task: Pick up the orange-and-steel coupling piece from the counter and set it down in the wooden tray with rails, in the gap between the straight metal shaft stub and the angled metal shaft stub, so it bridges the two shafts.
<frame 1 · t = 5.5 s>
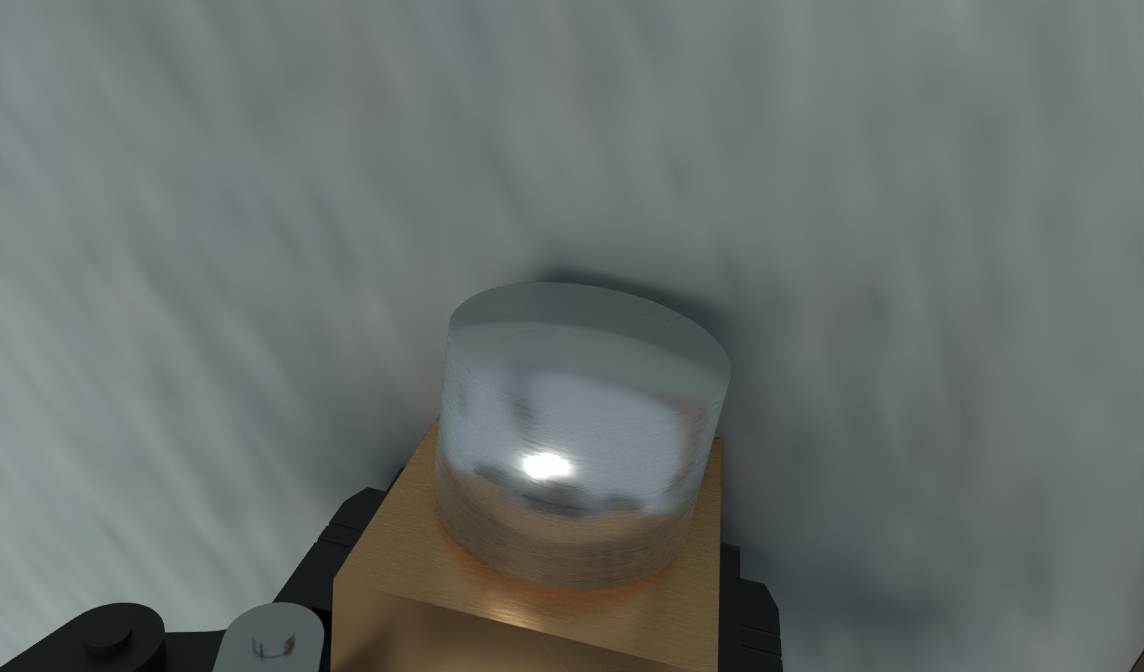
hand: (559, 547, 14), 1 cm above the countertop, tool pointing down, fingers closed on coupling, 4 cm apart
coupling: (566, 526, 15), on the countertop, touching gripper
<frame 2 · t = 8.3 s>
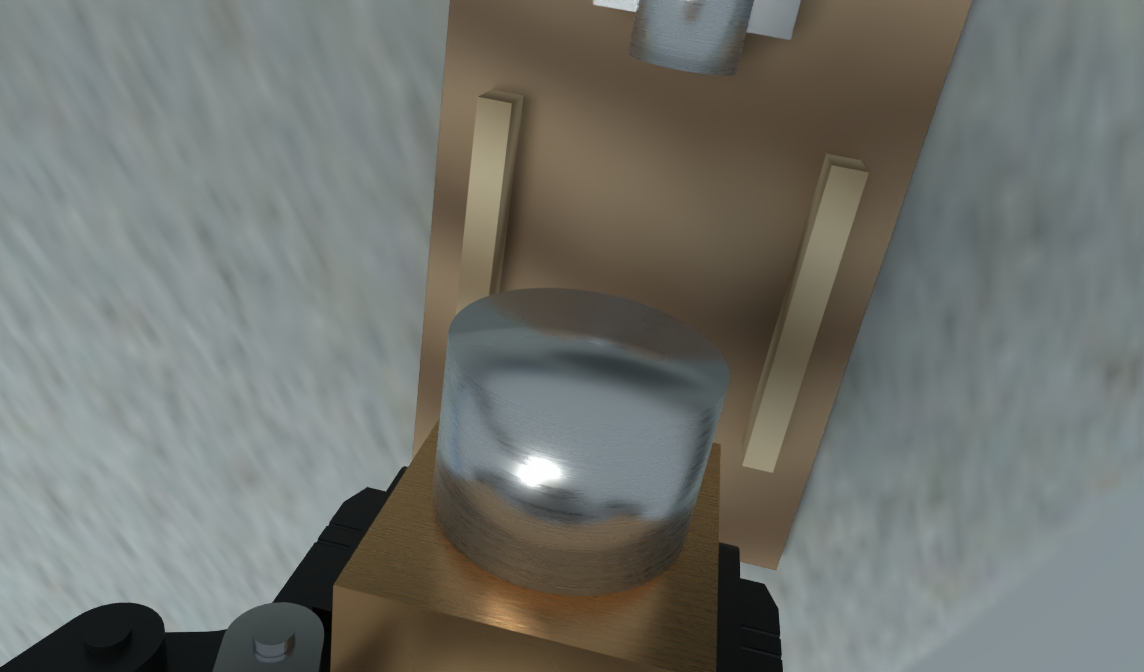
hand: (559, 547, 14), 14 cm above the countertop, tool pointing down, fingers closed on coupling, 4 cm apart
coupling: (566, 530, 15), point 14 cm above the countertop, touching gripper
wooden tray with rails: (643, 269, 27), on the countertop
when the fingers open (3 cm above the countertop, at t = 11.0 s): coupling drops 2 cm, resting on wooden tray with rails.
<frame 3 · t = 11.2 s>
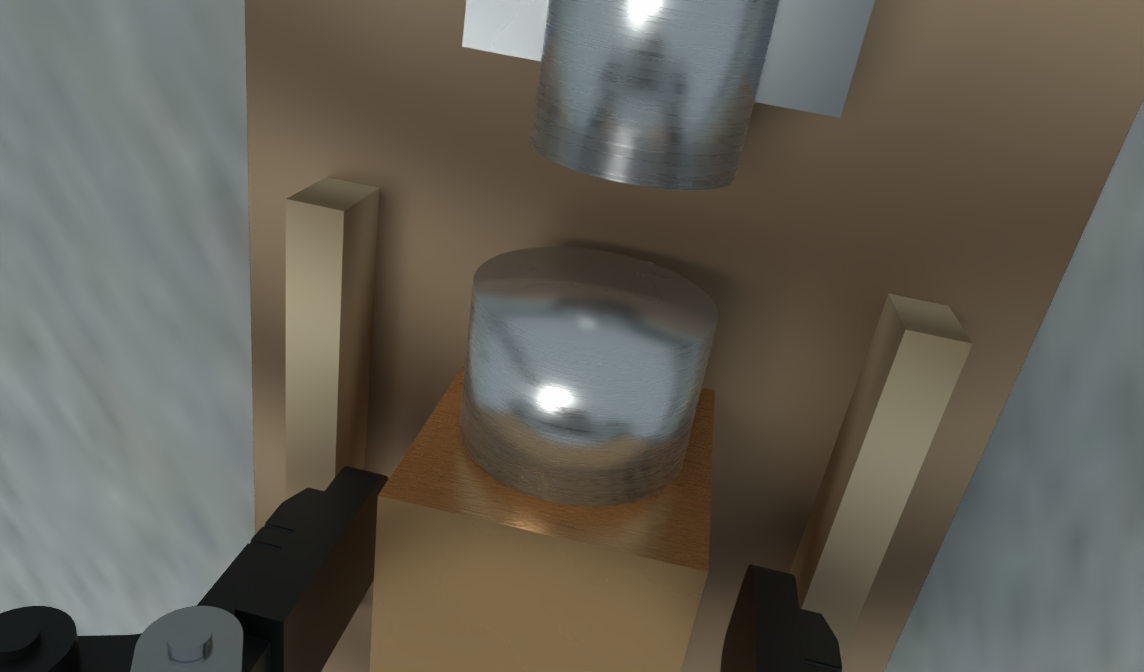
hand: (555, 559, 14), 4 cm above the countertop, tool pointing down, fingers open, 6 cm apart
coupling: (576, 474, 16), point 1 cm above the countertop, touching wooden tray with rails
wooden tray with rails: (588, 446, 17), on the countertop
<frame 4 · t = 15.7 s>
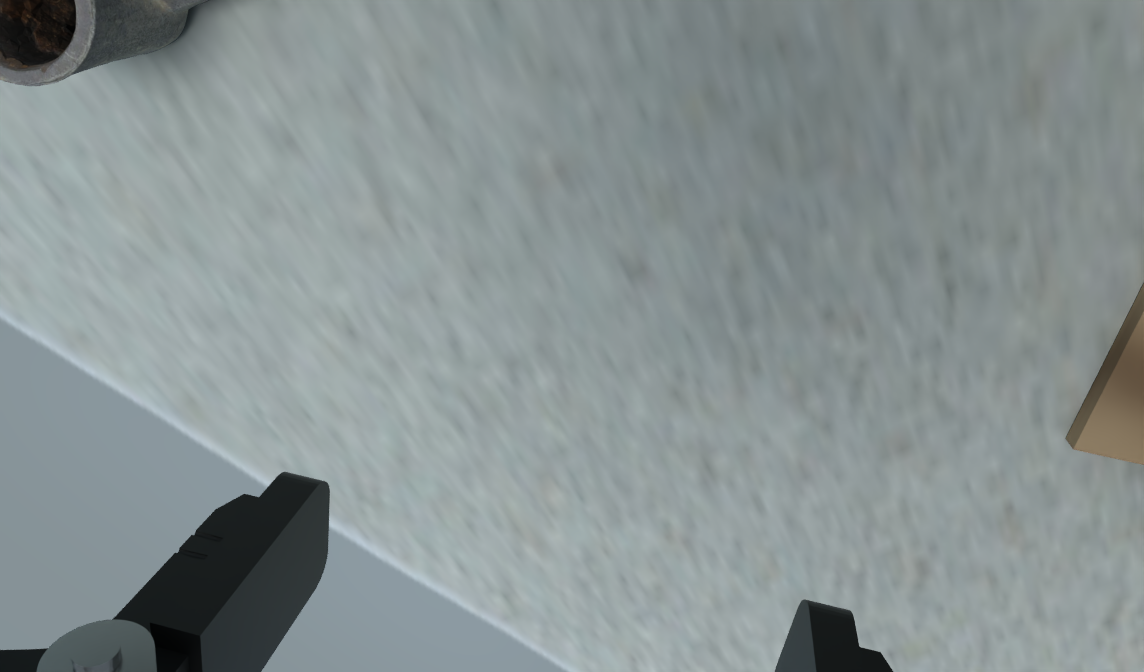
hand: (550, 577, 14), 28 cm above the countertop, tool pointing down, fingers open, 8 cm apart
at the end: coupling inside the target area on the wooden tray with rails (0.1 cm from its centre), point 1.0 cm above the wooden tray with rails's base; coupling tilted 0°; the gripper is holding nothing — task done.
